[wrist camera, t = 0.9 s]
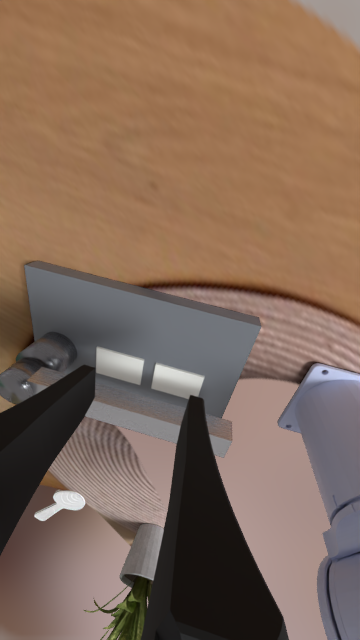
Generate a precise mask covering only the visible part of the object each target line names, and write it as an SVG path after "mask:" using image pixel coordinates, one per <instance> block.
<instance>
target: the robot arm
mask: <svg viewBox="0 0 360 640" xmlns="http://www.w3.org/2000/svg"><path fill="white" fill-rule="evenodd" d="M323 370H326V371H325V372H322V371H323ZM95 376H96V368H95V367H91V366H88V365H82V366H80V367H79V368H77V369H76V370H74V371H73V372H71V373H69V374H68V375H66V376H65V377H63V378H62V379H60V380H58V381H57V382H55V383H54V384H52V385H50V386H49V387H47V388H45V389H44V390H42V391H40V392H39V393H37V394H35V395H33V396H32V397H30V398H28V399H26V400H24V401H23V402H21V403H19V404H17V405H15V406H13V407H11V408H10V409H8V410H6V411H4V412H2V413H0V555H1V553H2V551H3V549H4V547H5V545H6V543H7V542H8V540H9V538H10V536H11V534H12V532H13V531H14V529H15V527H16V525H17V523H18V521H19V519H20V517H21V516H22V514H23V512H24V510H25V509H26V507H27V505H28V503H29V502H30V500H31V498H32V496H33V494H34V493H35V491H36V489H37V487H38V486H39V484H40V482H41V481H42V479H43V477H44V475H45V474H46V472H47V470H48V469H49V467H50V466H51V464H52V463H53V461H54V460H55V458H56V457H57V455H58V454H59V453H60V451H61V450H62V448H63V447H64V445H65V444H66V443H67V441H68V440H69V438H70V437H71V435H72V434H73V433H74V431H75V430H76V428H77V427H78V425H79V424H80V422H81V421H82V420H83V418H84V417H85V415H86V413H87V411H88V409H89V408H90V406H91V404H92V402H93V400H94V398H95ZM278 426H279V427H281V428H284V429H287V430H291V431H294V432H298V433H301V434H302V438H303V441H304V443H305V447H306V449H307V453H308V456H309V459H310V463H311V466H312V469H313V472H314V474H315V478H316V481H317V484H318V487H319V490H320V494H321V497H322V500H323V503H324V506H325V509H326V512H327V515H328V519H329V521H330V525H331V528H330V529H329V530H328V531H326V532H324V533H323V537H324V541H325V544H326V548H327V551H328V556H326V557H325V558H324V559H323V561H322V562H321V564H320V566H319V569H318V576H317V592H318V601H319V607H320V612H321V617H322V621H323V625H324V629H325V632H326V636H327V639H328V640H360V374H358V373H354V372H350V371H346V370H343V369H339V368H335V367H331V366H328V365H324V364H320V363H317V364H314V365H312V366H311V368H310V370H309V371H308V373H307V374H306V376H305V378H304V379H303V381H302V382H301V384H300V386H299V387H298V389H297V391H296V392H295V394H294V395H293V397H292V399H291V400H290V402H289V403H288V405H287V407H286V408H285V410H284V411H283V413H282V415H281V417H280V418H279V420H278ZM141 640H289V639H288V635H287V630H286V626H285V622H284V619H283V616H282V614H281V612H280V610H279V608H278V606H277V604H276V602H275V600H274V598H273V596H272V594H271V592H270V590H269V589H268V586H267V584H266V582H265V580H264V578H263V576H262V574H261V572H260V570H259V568H258V566H257V564H256V562H255V560H254V558H253V556H252V553H251V551H250V549H249V547H248V545H247V542H246V540H245V538H244V536H243V533H242V531H241V528H240V526H239V524H238V521H237V519H236V517H235V514H234V512H233V509H232V507H231V504H230V501H229V499H228V496H227V493H226V491H225V488H224V485H223V482H222V479H221V476H220V473H219V470H218V466H217V463H216V459H215V456H214V452H213V448H212V444H211V440H210V436H209V431H208V426H207V421H206V414H205V405H204V400H203V398H200V397H197V396H193V395H190V397H189V400H188V403H187V406H186V410H185V413H184V416H183V419H182V422H181V427H180V431H179V436H178V441H177V446H176V453H175V461H174V470H173V477H172V485H171V493H170V500H169V506H168V512H167V517H166V522H165V527H164V532H163V537H162V541H161V546H160V551H159V556H158V561H157V566H156V570H155V575H154V580H153V585H152V589H151V594H150V599H149V604H148V608H147V613H146V617H145V622H144V627H143V631H142V636H141Z"/></svg>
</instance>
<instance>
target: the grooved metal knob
mask: <svg viewBox="0 0 360 640" xmlns="http://www.w3.org/2000/svg"><path fill="white" fill-rule="evenodd" d="M23 357H30V358H33V359H36V360H37V361H39V362H41V363H42V364H43V365H44V366H45V367H46V368H48V369H51V370H55V371H58V372H62V373H63V372H64V371H65V370H66V369H67V368H68V367H69V366H70V365H71V364H72V363H73V362H74V361H75V360H76V358H77V350H76V347H75V345H74V344H73V342H72V341H71V340H70V339H69V338H68V337H66V336H65V335H63V334H60V333H57V332H49V333H46V334H45V335H43V336H42V337H41V338H39V339H38V340H37V341H35V342H34V343H32V344H31V345H30V346H28V347H27V348H26V349H24V350H23V351H22V352H20V353H19V354H18V355H17V357H16V362H17V361H18V360H20V359H21V358H23Z"/></svg>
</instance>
